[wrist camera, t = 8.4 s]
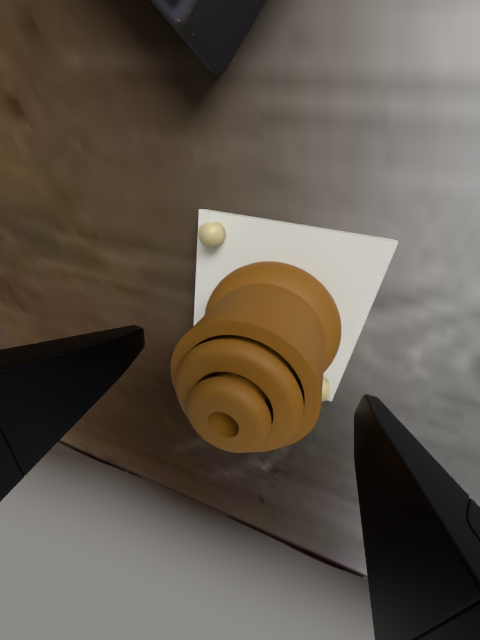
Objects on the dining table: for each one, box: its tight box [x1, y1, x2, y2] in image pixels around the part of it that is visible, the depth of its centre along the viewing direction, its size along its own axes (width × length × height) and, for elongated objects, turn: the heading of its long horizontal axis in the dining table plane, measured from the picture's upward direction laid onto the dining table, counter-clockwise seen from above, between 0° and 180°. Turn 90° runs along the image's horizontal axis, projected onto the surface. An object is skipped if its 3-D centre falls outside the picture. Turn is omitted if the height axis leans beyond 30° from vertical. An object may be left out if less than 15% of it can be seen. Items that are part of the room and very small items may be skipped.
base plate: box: [194, 209, 399, 402], centre depth 14 cm, size 10×10×2 cm
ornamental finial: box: [171, 261, 341, 453], centre depth 11 cm, size 8×8×8 cm
